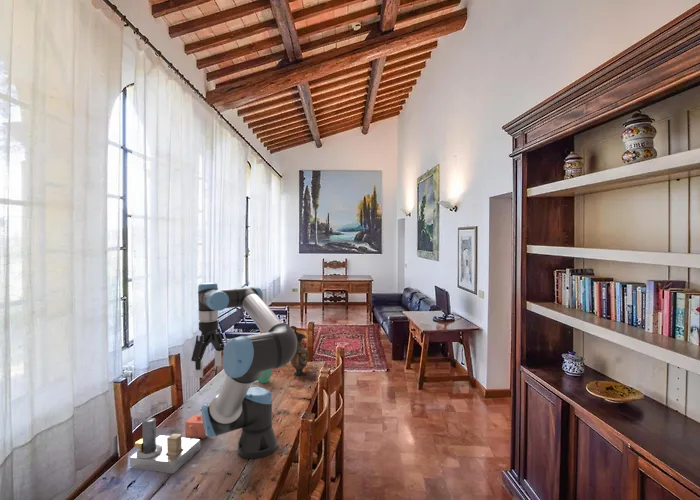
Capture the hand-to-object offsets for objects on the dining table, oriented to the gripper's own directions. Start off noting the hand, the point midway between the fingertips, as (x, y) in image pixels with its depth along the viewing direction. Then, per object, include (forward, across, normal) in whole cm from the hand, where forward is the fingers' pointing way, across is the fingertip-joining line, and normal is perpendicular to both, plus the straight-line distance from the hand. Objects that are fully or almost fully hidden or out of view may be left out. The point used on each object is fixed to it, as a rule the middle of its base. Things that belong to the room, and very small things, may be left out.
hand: (209, 371), depth 155 cm
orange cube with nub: (+29, -3, -7) cm, 30 cm away
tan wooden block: (+29, +17, -4) cm, 34 cm away
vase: (+29, -82, +10) cm, 88 cm away
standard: (+25, +19, -13) cm, 34 cm away
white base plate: (+29, +15, -9) cm, 34 cm away
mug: (+29, -65, -8) cm, 72 cm away
